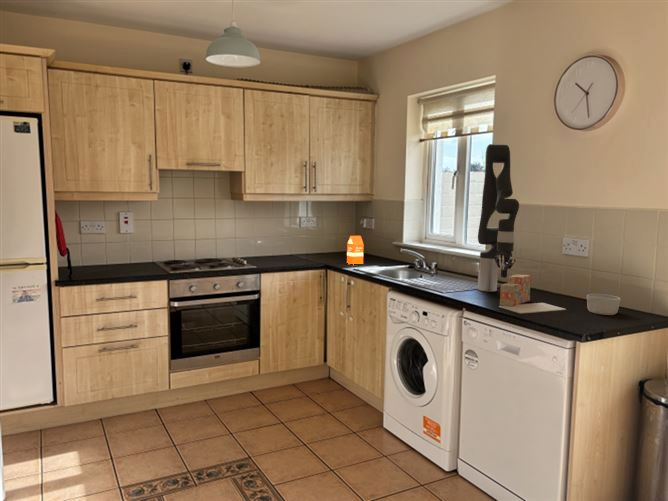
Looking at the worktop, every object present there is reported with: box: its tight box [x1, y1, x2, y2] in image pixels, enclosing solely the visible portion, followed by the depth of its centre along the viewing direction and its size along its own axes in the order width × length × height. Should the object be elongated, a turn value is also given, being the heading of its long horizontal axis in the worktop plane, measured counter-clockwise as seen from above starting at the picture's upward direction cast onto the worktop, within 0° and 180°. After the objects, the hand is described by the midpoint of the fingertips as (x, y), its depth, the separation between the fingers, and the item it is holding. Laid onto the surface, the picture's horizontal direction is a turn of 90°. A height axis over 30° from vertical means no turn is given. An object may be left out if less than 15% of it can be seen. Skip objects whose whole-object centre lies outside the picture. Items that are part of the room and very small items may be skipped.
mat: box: [498, 302, 567, 314], centre depth 234 cm, size 14×25×1 cm, turn 111°
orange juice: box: [346, 235, 365, 266], centre depth 370 cm, size 8×9×20 cm
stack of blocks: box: [499, 273, 532, 306], centre depth 244 cm, size 21×6×12 cm, turn 141°
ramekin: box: [586, 293, 622, 316], centre depth 229 cm, size 13×13×7 cm
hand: (503, 277), depth 252 cm, fingers closed
